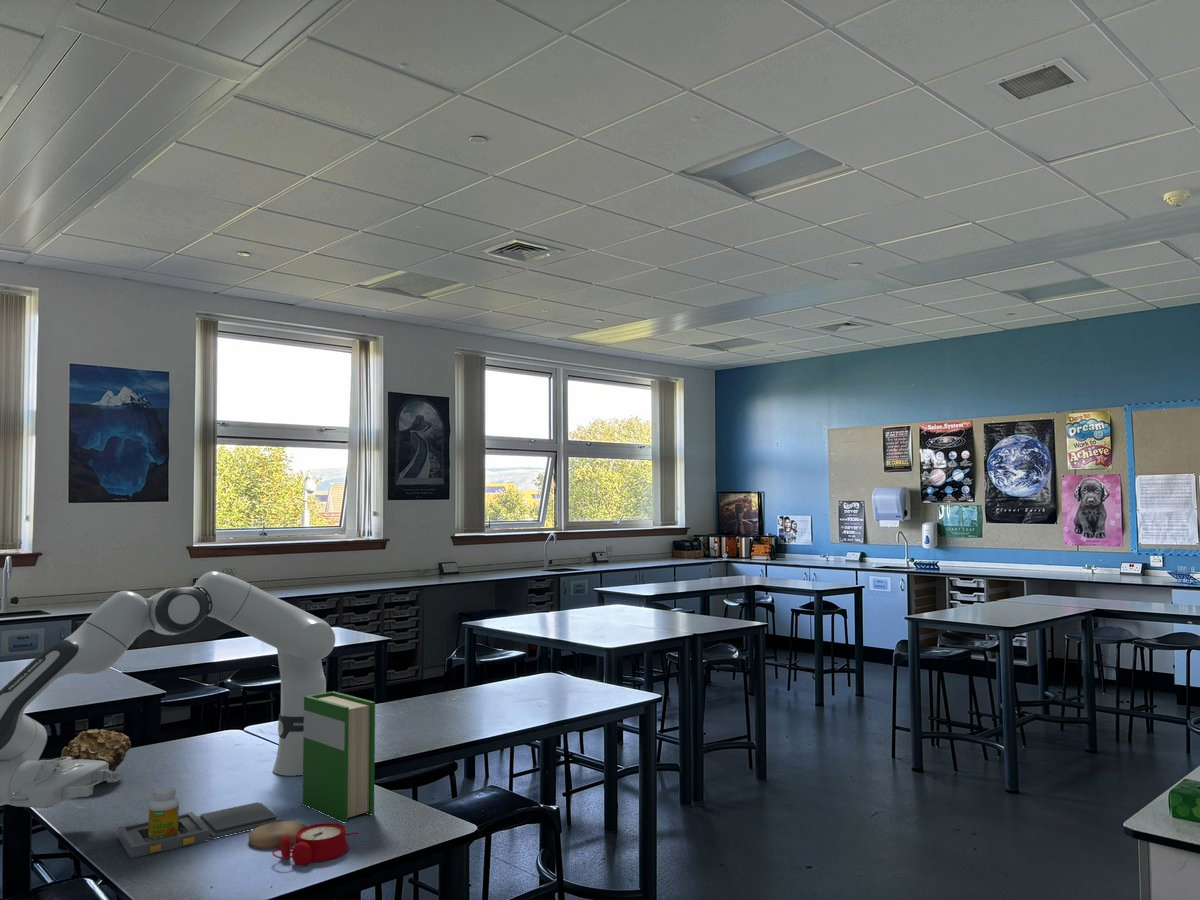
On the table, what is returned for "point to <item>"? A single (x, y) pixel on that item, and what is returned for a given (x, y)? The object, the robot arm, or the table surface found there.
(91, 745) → the fossil
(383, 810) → the table surface
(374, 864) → the table surface
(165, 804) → the supplement bottle
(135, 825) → the equipment case
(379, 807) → the table surface
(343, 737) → the hardback book
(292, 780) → the table surface
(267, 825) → the round brown pad
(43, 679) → the robot arm
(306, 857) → the alarm clock
